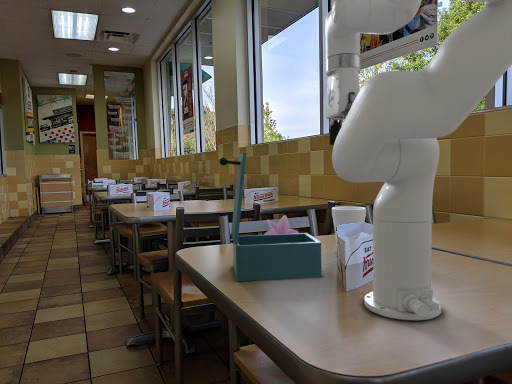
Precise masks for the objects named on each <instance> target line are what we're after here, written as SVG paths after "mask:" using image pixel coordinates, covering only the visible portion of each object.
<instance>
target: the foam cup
mask: <svg viewBox="0 0 512 384" xmlns="http://www.w3.org/2000/svg"><path fill="white" fill-rule="evenodd" d="M331 217H332V221H333V229H334V235H335V243H336V245H337V231H336V227H337V226H338V225H341V224H347V223H355V222H364V223H365V221H366V218H367V208H366V207H363V206H355V205H354V206H347V205H346V206H333V207H331Z"/></svg>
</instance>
